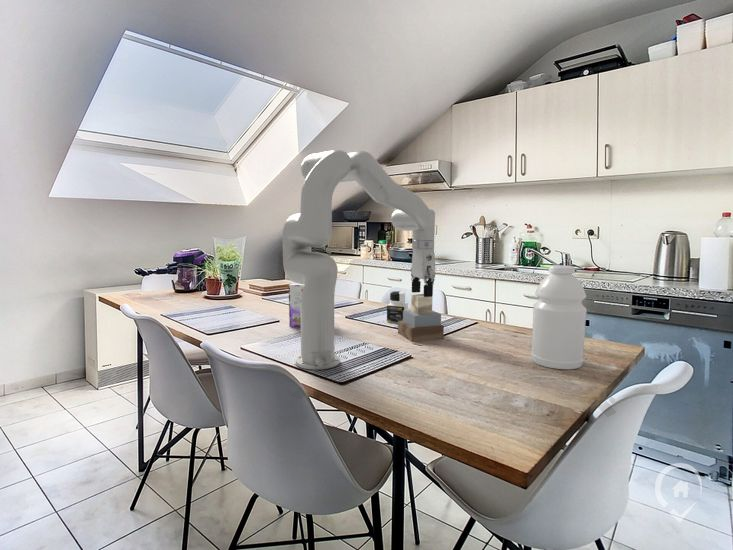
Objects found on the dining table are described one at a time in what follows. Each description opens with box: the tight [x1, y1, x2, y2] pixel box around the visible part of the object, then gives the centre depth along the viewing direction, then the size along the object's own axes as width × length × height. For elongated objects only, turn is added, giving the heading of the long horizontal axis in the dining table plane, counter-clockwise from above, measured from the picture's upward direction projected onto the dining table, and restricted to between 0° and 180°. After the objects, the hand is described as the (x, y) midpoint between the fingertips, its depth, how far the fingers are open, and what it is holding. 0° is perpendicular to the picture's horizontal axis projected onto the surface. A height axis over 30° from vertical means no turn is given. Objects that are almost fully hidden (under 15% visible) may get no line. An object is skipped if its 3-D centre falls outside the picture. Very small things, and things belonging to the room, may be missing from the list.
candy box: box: [288, 282, 304, 328], centre depth 171 cm, size 14×6×16 cm, turn 84°
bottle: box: [530, 264, 588, 370], centre depth 127 cm, size 14×14×28 cm
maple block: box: [410, 293, 433, 314], centre depth 156 cm, size 6×6×6 cm
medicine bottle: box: [386, 291, 409, 324], centre depth 180 cm, size 7×7×12 cm
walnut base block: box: [397, 320, 445, 343], centre depth 157 cm, size 12×12×5 cm
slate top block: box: [403, 309, 442, 328], centre depth 157 cm, size 10×10×4 cm
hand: (421, 294), depth 155 cm, fingers open, 9 cm apart
